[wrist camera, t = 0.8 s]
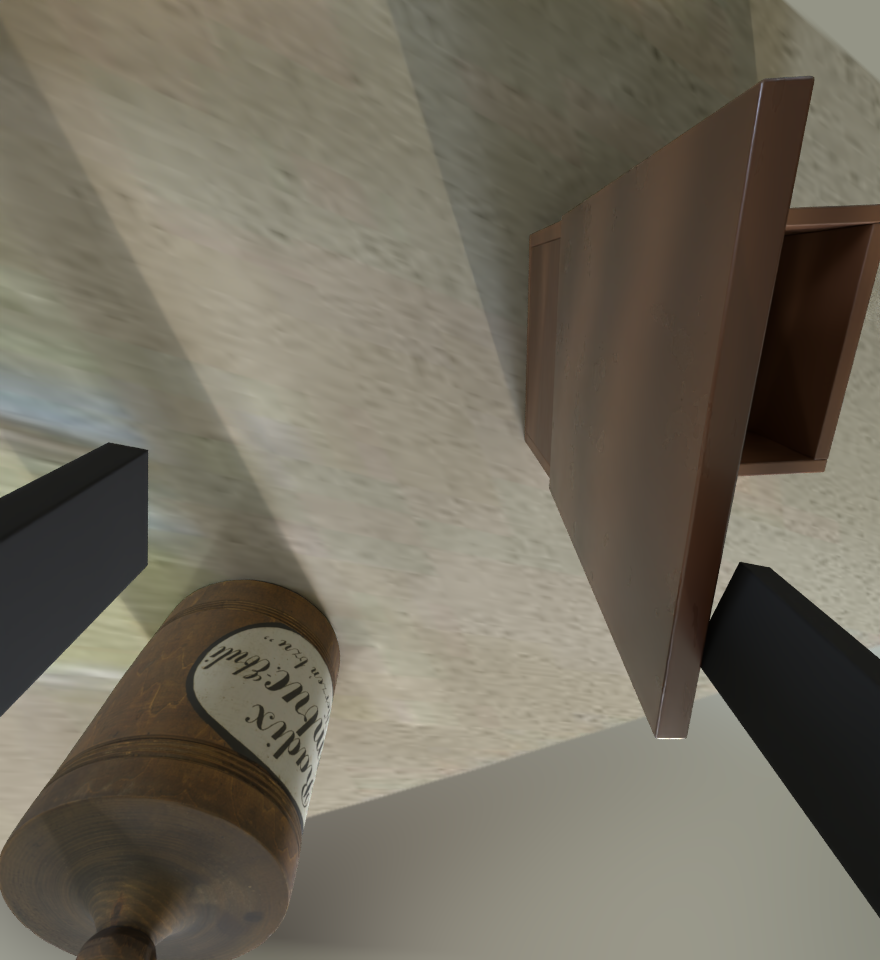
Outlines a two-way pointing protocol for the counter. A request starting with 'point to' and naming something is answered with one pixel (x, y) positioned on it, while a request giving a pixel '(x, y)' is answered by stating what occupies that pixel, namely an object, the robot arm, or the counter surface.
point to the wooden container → (185, 788)
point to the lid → (668, 375)
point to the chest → (787, 343)
